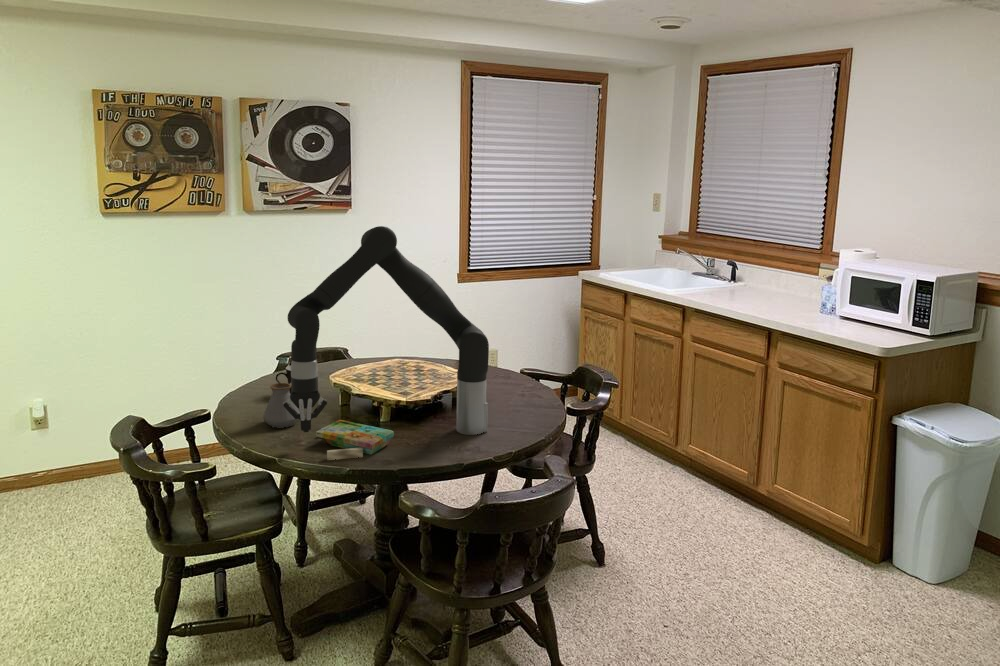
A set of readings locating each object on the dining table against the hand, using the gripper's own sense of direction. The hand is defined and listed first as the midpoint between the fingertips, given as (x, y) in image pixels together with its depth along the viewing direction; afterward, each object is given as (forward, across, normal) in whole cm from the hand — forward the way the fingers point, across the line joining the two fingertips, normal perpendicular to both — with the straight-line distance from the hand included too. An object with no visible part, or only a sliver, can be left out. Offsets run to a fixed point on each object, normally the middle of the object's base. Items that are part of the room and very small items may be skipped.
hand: (305, 431), depth 226 cm
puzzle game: (+5, -14, 0) cm, 15 cm away
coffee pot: (+6, +4, -28) cm, 29 cm away
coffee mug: (+6, +1, -55) cm, 55 cm away
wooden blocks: (+5, -10, 0) cm, 12 cm away
